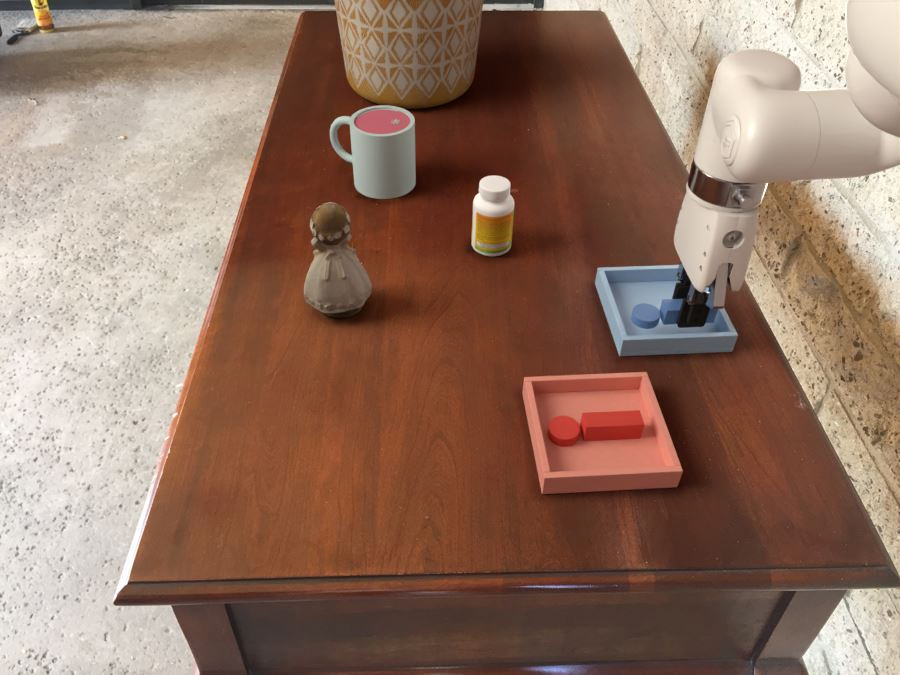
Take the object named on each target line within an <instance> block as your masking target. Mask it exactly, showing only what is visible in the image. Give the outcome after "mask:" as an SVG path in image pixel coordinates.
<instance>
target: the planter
mask: <svg viewBox="0 0 900 675" xmlns="http://www.w3.org/2000/svg"><path fill="white" fill-rule="evenodd" d="M333 1H334V6H335V7H334V9H335V13H336V21H337V25H338V26H337V27H338V32H339V38H340V45H341V51H342V57H343V63H344V70H345V76H346V79H347V82H348V84H349V86H350V88H352V90H353V91H354V92H355V93H356V94H357V95H358V96H359V97H361V98H363V99H365V100H367V101H369V102H370V103H373V104H376V105H378V106H379V105H388V106H396V107H400V108H403V109H405V110H417V109H428V108H434V107H438V106H441V105H445V104H449V103H450V102H453V101H455V100H457V99H458V98H460V97H461V96H463V95H464V94H465V93H466V92H467V91H468V90H469V88H471V86H472V83H473V82H474V78H475V72H476V65H477V57H478V56H477V55H478V48H479V40H480V32H481V24H482V15H483V7H484V0H333Z"/></svg>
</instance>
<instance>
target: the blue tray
mask: <svg viewBox="0 0 900 675" xmlns="http://www.w3.org/2000/svg"><path fill="white" fill-rule="evenodd" d="M678 268H679V264H663V265H662V264H661V265H635V266H634V265H633V266H606V267H605V266H603V267H597V270H596V275H595V279H594V285H595V288H596V292H597V294H598V297H599V300H600V303H601V307H602V310H603V312H604V315H605V318H606V322H607V324H608V327H609V330H610V333H611V336H612V339H613V342H614V345H615V348H616V350H617V353H618V354H617V355H618V356H619V357H635V356H636V357H637V356H638V357H639V356H661V355H662V356H664V355H685V354H706V353H707V354H709V353H713V354H714V353H733V352H734V348H735V344H736V343H737V340H738V338H739V334H738V332H737V330H736V327H735V326H734V324H733V323H732V320H731V318H730V317H729V315H728V312H727V311H726V309H725V307H724V308H723V309H718V311H717V315H716V318H715V321H714V323H705V325H704V326H703V327H689V328H679V327H678V326H677V324H668V325H663V323H662V320H661V318H660V320H659V323H658V325H657V326H656V327H654V328H651V329H643V328H640V327H638V326H636V325H635V324H633V322H632V321H631V314H632V310H633V308H634V306H636V305H638V304H641V303H647V304H651V305H653V306H655V307H657V308H658V309H659V311H660V307H661V303H662V300H663V299H672V296H673V293H674V289H675V285H676V283H680V282H681V281H680V282H678V281H677V271H678ZM705 289H706V290H705V291H704V292H708V290H709V288H705Z"/></svg>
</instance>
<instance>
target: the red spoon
mask: <svg viewBox="0 0 900 675" xmlns="http://www.w3.org/2000/svg"><path fill="white" fill-rule="evenodd" d="M644 425H645V424H644V421H643V418H642V415H641V413H640V410H634V411H611V412H589V413H582V418H581V423H580V426H579V424H578V422H577V421H576V420H575V419H573V418H571V417H569V416H557V417H554V418H553V419H552V420H551V421H550V422H549V426H548V437H549V439H550V440H551V442H553V443H554V444H556V445H558V446H562V447H568V446H572V445H574V444H575V443H576V442H577V441H578V438H579V433H580V430H581V434H582V438H583V441H598V440H619V439H640V438H641V436H642V432H643V429H644Z"/></svg>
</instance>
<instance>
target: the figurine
mask: <svg viewBox="0 0 900 675" xmlns="http://www.w3.org/2000/svg"><path fill="white" fill-rule="evenodd" d="M309 228H310V231H311V234H312V235H313V238H312V239H311V240H310V244H311V246H313V248H316V249H314V250H313V252H312V255H313V260H312V262H311V263H310V265H309V269H308V271H307V273H306V277H305V281H304V284H303V297H304V301H305V302H306V304H308V305H310V306H311V307H312V308H314V309H315V310H317V311H319V312H320V313H321V314H322V315H323V316H324V317H325V316H326V317H327V318H331V319H343V320H344V319H349V318H351V317H355V316H356V315H357V314H359V313H360V312H361V311H362V308H363V307H364V306H365V303H366V301H367V300H368V298H369V297H370V296H371V294H372V290H373V284H372V282H371V279H370V277H369V274H368V273H367V271H366V269H365V267H364V266H363V265H362V263H361V261H360V260H359V258H358V256H357V249H356V248H353V247H350V246H349V245H348V244H349V242H350V241H351V239H352V235H351V233H350V232H351V230H352V224H351V217H350V214H349V213H348V211H347V210H346V209H345V207H344V206H342V205H340V204H338V203H336V202H332V201H329V202H325V203H322V204H321V205H319V206H317V207H316V208H315V210H314V212H313V213H312V215H311V216H310V220H309Z"/></svg>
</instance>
